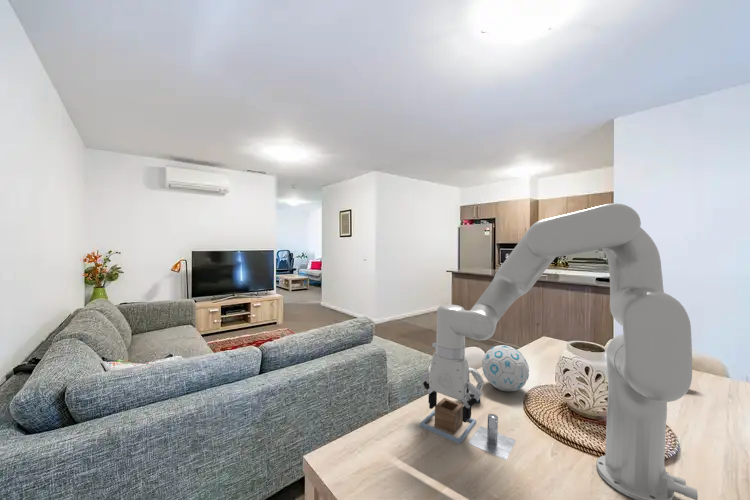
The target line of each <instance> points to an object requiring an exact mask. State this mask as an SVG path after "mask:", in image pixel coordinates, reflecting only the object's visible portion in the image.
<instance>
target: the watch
mask: <svg viewBox="0 0 750 500" xmlns="http://www.w3.org/2000/svg"><path fill="white" fill-rule="evenodd" d="M468 368H469V372H470V373H471V375H472V376H473V379H474V380H475V381H476V383H477V384H476V385H475V387H476V388H477V389H479V390H480V391H481V390H482V388H483V387H484V383H485V381H484V379H483V377H482V375H481V374H480V372H479V371H478V370H477V369H476V368H473V367H471V366H468ZM468 394H469V395H470V397H471V399H472V398H473V397H474V394H473V393H472V392H471V391H470V390H469V393H468ZM476 404H477V405H478V404H481V397H480V398H479V400H478V401H477V402H476ZM476 404H475V405H476Z"/></svg>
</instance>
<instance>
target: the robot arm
mask: <svg viewBox="0 0 750 500" xmlns="http://www.w3.org/2000/svg"><path fill="white" fill-rule="evenodd" d="M641 221H642V220H641V218H640V215H639V214H638V213H637V211H636V210H635V209H634V208H632V207H630V206H628V205H627V204H626V205H625V204H622V203H614V202H613V203H612V202H611V203H606V204H603V205H602V204H601V205H598V206H594V207H591V208H587V209H582V210H577V211H574V212H571V213H570V212H569V213H567V214H562V215H558V216H557V215H556V216H553V217H548V218H543V219H540V220H538V221H535V222H534V223H533V224H532V225H531V226H530V227H529V228H528V230H527V231H526V232H525V234H523V236H522V238H521V239H520V240H519V241H518V243H517V244H516V245H515V246H514V248H513V249H512V251H511V252H510V253H509V255H507V258H506V259H505V260H504V261H503V263H502V264H501V265H500V267H499V268H498V270H497V271H496V273H495V275H494V277H493V278H492V280H491V282H490V283H489V284H488V286H487V288H486V289H485V290H484V291H483V292H482V294H481V295H480V296H479V299H478V300H477V301H476V302H475V304H474V305H473V306H472V307H471V308H470V310H466V309H465V308H464V307H463V306H461V305H458V304H448V303H447V304H442V305H439V306H438V308H437V310H436V312H437V313H436V342H432V345H431V347H432V348H433V349H435V352H433V354H432V358H431V364H430V369H429V371H425V372H423V373H421V374H420V378H421V380H422V382H423V386H424V388H425V390H426V392H427V395H428V404H429V405H428V406H429V407H428V409H430V410H432V409H435V406H436V405H437V404H438V403H437V401H438V400H437V396H438V394H441V395H444V396H446V397H449V398H452V399H455V400H458V401H462V403H463V404H462V405H463V423H464V424H465V423H467V422H468V421H467V420H468V419H470V418H472V406H473V405H476V402H477V401H478V400H479V398H480V399H481V397H482V396H483V392H482V391H481V390H479V389H477V388H476V385H474V384H472V383H471V380H470V379H471V378H470V371H469V368H468V367H469V361H468V358H467V357H466V356H465V353H466V350H465V349H466V338H469V339H471V340H475V341H487V340H489V339H491V338H492V337H493V335H494V334H495V332H496V328H497V323H498V322H499V321H500V319H501V318H502V317H503V316H504V315H505V313H506V312H507V311H508V309H509V308H510V307H511V306H512V305H513V304H514V303H515V301H517V300H518V299H519V298H520V297H522V296H524V295H525V294H527V293H528V292H529V291H530V290H531V289H532V288H533V286H534V285H535V284H536V283H537V281H539V280H540V278H541V276H542V275H543V274H544V272H545V271H546V270H547V269H548V267H549V266H550V265H551V264H552V263H553V261H554V260H555V259H556V258H557V257H559V258H560V257H565V256H566V257H567V256H571V255H576V254H583V253H588V252H593V251H598V250H602V252H604V254H605V257H606V259H607V263H608V271H609V310H610V314H611V316H612V318H613V319H614V320H615V321H616V322H617V323H618V324H619V325H620V326H622V329H623V332H622V334H619V335H617V336H615V337H614V338H613V339H611V341H610V342H609V343H608V346H607V348H606V370H607V372H606V373H607V405H606V408H607V409H606V429H605V431H606V432H605V453H604V455H601V456H599V457H598V458H597V459H596V464H595V465H596V471H597V472H598V474H599V476H600V477H601V478H602V479H603V480H604V482H606V483H607V484H608V485H610V487H612V488H613V489H615V490H616V491H618V492H619V493H620V494H623V495H624V496H627V497H629V498H631V499H633V500H673V499H675V493H677V494H679V495H683V496H684V497H687V498H689V499H692V500H698V498H699V497H698V496H699V495H698V490H697V488H694V487H691V486H689V485H687V481H686V479H683V478H681V477H678V476H675V475H672V474H670V473H669V472H667V470H666V465H665V457H666V456H665V454H666V453H665V452H666V435H667V433H666V432H667V419H668V416H667V415H668V403H671V402H675V401H678V400H680V399H681V398H683V397H684V396H685V395H686V394H688V391H689V390H690V388H691V385H692V381H693V352H692V351H693V348H692V347H693V345H692V341H693V340H692V326H691V321H690V317H689V315H688V312H687V310H686V309H685V307H684V306H683V305H682V303H681V302H680V301H679V300H677V299H676V298H675V297H673V296H671V295H670V294H668V293H666V292H665V291H664V283H663V282H664V279H663V272H662V263H661V262H662V261H661V256H660V251H659V249H658V246H657V244H656V243H655V241H654V240H653V239H652V237H651V236H650V235H649V234H648V233H647V231H645V230H644V229H643V228H642V226H641V225H642V222H641ZM428 378H429V379H428ZM469 390H470V391H471V392H472V393H473V394H474V397H473V398H472V399H471V397H470V395H469V394H468V393H469Z"/></svg>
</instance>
